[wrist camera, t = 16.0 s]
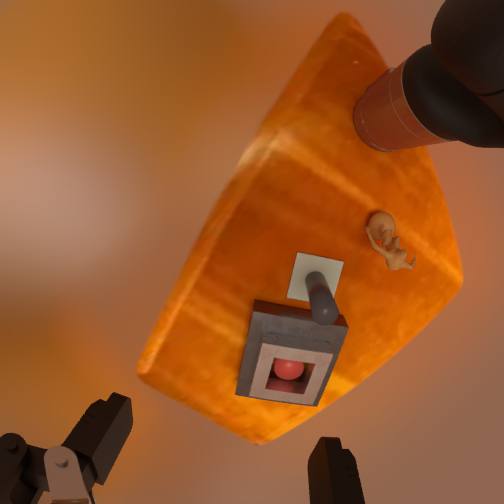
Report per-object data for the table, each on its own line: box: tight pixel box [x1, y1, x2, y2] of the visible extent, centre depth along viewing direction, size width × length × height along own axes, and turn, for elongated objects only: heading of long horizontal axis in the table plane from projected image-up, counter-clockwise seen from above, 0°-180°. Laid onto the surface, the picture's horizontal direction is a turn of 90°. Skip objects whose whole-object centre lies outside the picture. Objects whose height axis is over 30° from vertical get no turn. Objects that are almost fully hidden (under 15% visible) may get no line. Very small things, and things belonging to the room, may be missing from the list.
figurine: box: [364, 212, 416, 270], centre depth 35 cm, size 8×6×12 cm
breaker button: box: [274, 358, 304, 380], centre depth 44 cm, size 4×4×4 cm
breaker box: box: [235, 300, 349, 406], centre depth 43 cm, size 16×14×7 cm
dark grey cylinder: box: [305, 271, 339, 326], centre depth 37 cm, size 3×3×11 cm
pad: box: [287, 252, 344, 301], centre depth 43 cm, size 7×7×1 cm
